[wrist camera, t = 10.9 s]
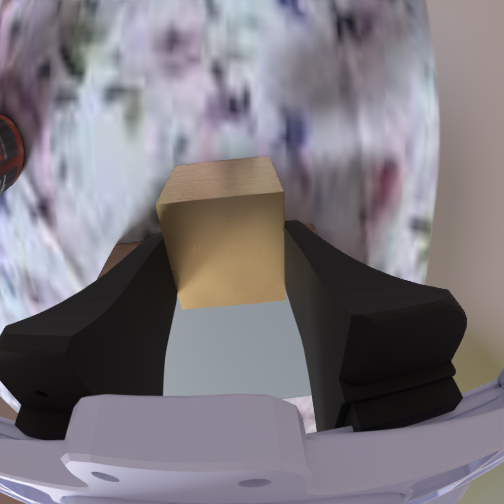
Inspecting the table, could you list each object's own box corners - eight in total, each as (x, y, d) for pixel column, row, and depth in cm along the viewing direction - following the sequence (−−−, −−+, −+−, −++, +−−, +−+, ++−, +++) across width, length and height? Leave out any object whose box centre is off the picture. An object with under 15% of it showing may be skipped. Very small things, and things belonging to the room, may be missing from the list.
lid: (338, 264, 17) (341, 271, 16) (321, 387, 24) (322, 393, 23) (85, 287, 17) (81, 294, 16) (146, 399, 24) (145, 405, 23)
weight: (268, 156, 13) (284, 191, 10) (273, 245, 15) (285, 300, 12) (174, 166, 13) (155, 205, 10) (190, 252, 15) (181, 309, 12)
